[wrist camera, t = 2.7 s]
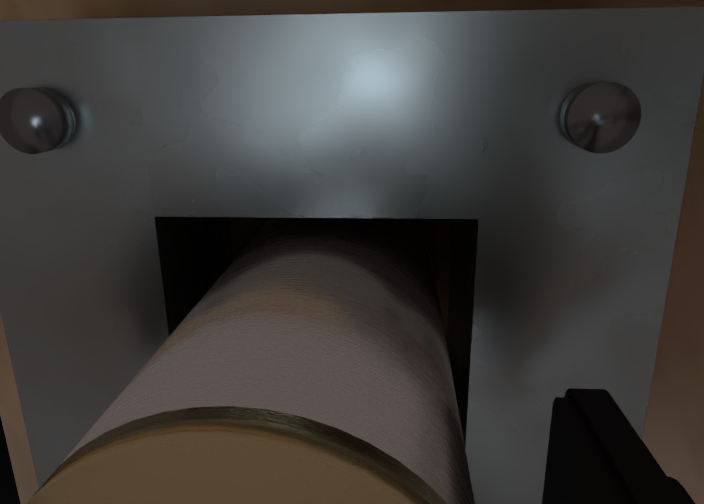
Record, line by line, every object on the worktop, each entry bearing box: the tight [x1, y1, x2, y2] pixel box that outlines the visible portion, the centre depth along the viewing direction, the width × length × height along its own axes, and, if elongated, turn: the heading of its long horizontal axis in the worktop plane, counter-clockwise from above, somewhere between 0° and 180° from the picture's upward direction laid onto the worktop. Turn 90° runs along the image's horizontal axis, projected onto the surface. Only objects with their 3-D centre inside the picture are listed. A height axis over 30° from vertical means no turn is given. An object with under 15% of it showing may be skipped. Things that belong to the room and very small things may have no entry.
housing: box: [0, 7, 704, 504], centre depth 14 cm, size 14×14×6 cm
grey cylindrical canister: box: [27, 217, 475, 504], centre depth 12 cm, size 6×6×12 cm
